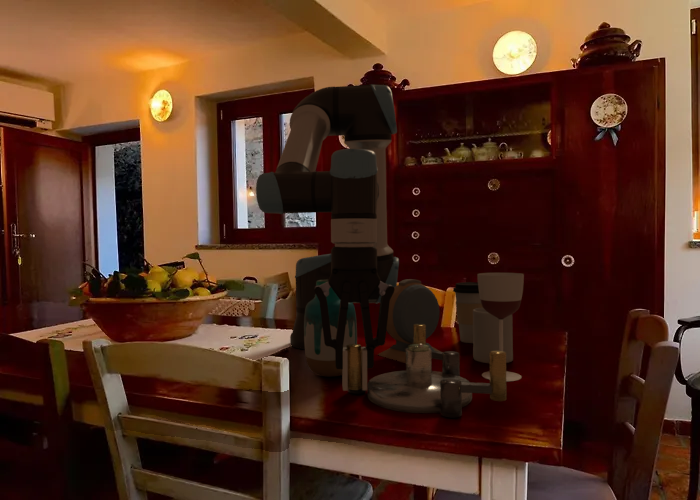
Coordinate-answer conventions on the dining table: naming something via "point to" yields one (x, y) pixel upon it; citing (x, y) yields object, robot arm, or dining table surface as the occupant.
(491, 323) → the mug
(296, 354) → the dining table surface
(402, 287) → the alarm clock
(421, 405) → the plate
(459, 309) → the coffee cup
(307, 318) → the vase
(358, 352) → the knob
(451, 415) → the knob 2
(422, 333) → the crank handle
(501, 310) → the wineglass
